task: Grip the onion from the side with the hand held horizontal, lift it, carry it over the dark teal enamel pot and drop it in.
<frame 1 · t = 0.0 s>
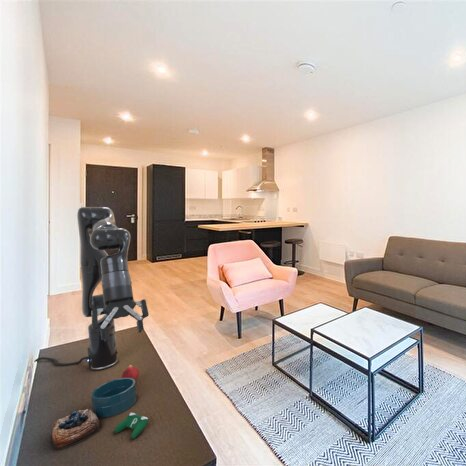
hand: (123, 336, 93), 31 cm above the table, tool tilted 20°, fingers open, 8 cm apart
pot: (115, 405, 107), on the table
onion: (131, 384, 120), on the table
gaming controller: (132, 430, 95), on the table
pastry: (76, 433, 94), on the table
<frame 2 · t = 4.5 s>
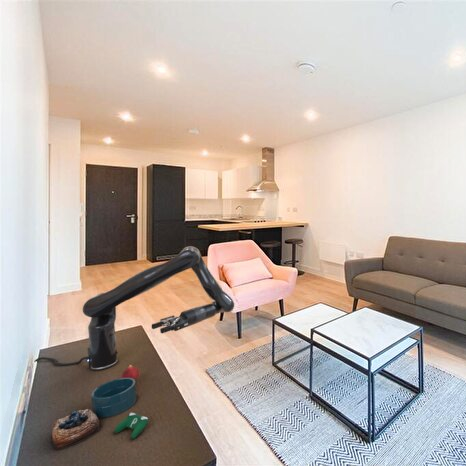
hand: (156, 329, 127), 20 cm above the table, tool horizontal, fingers open, 8 cm apart
nothing on the table moved.
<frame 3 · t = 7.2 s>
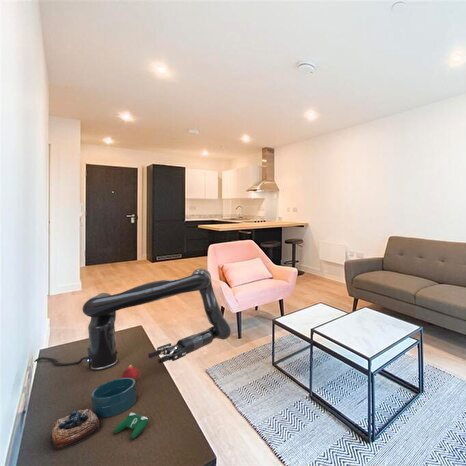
hand: (153, 358, 127), 7 cm above the table, tool horizontal, fingers open, 8 cm apart
nothing on the table moved.
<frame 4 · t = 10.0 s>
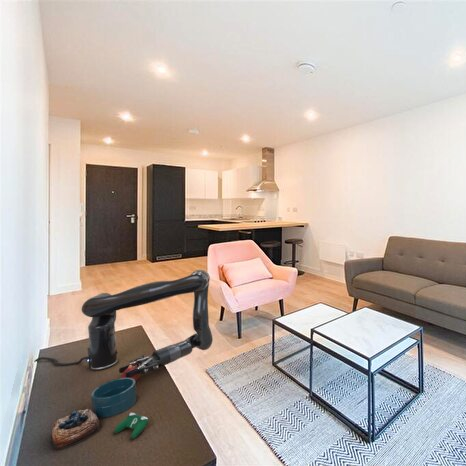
hand: (122, 373, 117), 6 cm above the table, tool horizontal, fingers closed on onion, 5 cm apart
onion: (131, 384, 120), on the table, touching gripper
everything else where it was.
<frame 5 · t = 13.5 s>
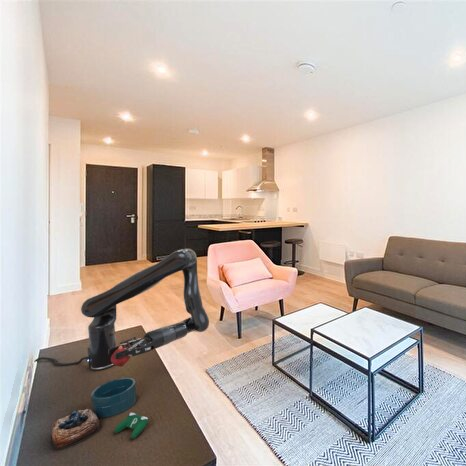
hand: (112, 354, 109), 18 cm above the table, tool horizontal, fingers closed on onion, 5 cm apart
onion: (121, 367, 111), point 11 cm above the table, touching gripper
everything else where it was.
when the fingers open (11 cm above the table, at t = 17.0 s): onion drops 3 cm, resting on pot.
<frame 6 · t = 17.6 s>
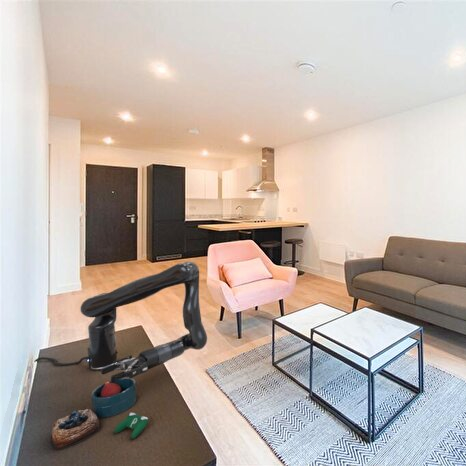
hand: (106, 375, 104), 13 cm above the table, tool horizontal, fingers open, 8 cm apart
onion: (115, 402, 107), point 1 cm above the table, touching pot
everything else where it was.
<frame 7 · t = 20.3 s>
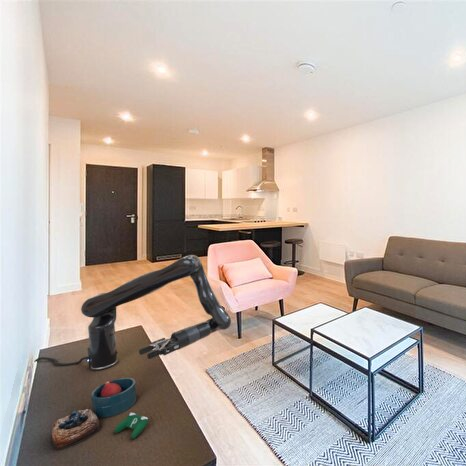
hand: (143, 354, 114), 15 cm above the table, tool horizontal, fingers open, 8 cm apart
nothing on the table moved.
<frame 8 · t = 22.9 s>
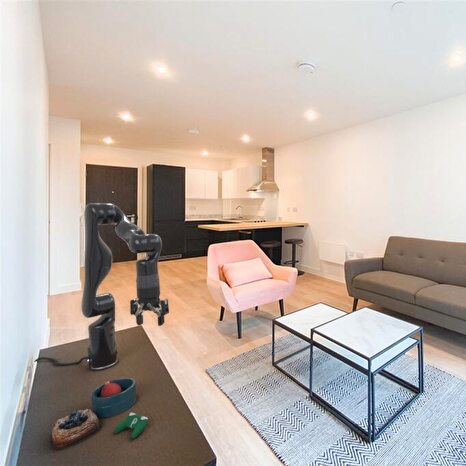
hand: (150, 324, 115), 26 cm above the table, tool pointing down, fingers open, 8 cm apart
nothing on the table moved.
at the end: onion inside the target area in the pot (0.3 cm from its centre), point 1.1 cm above the pot's base; the gripper is holding nothing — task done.
